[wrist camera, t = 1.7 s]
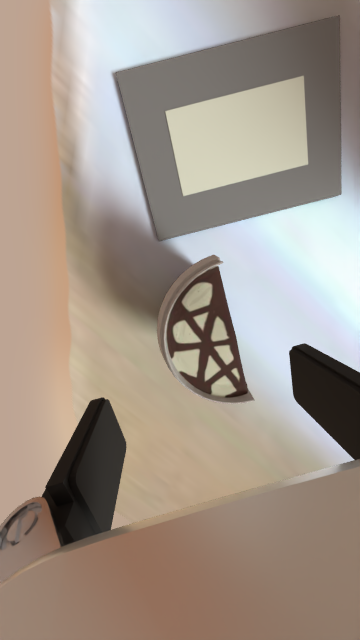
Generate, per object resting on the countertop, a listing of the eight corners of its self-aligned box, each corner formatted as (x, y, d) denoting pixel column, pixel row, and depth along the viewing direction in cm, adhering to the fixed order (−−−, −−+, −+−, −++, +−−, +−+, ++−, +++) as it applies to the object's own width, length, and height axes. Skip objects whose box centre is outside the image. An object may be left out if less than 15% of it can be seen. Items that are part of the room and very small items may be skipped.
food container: (145, 274, 22) (130, 281, 13) (197, 257, 22) (221, 253, 13) (177, 367, 26) (183, 427, 16) (222, 353, 26) (255, 405, 16)
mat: (334, 21, 18) (340, 13, 17) (337, 195, 22) (342, 193, 21) (117, 77, 18) (115, 71, 17) (158, 241, 22) (158, 240, 21)
